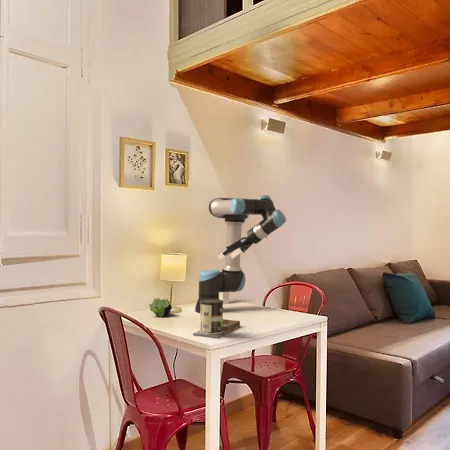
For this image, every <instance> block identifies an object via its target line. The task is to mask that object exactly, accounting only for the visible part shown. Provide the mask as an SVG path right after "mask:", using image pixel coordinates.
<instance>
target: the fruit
mask: <svg viewBox="0 0 450 450" xmlns="http://www.w3.org/2000/svg"><path fill="white" fill-rule="evenodd" d="M148 305H149V311H151V312H152V313H153V314H154V315H156V317H157V316H159V318H162V317H166V316H167V315H169V314H170V313H171V311H172V310H173V306H172V305H171V303H170V301H169V299H168V298H165V299H164V298H163V299H160V298H159V297H158V298H157V297H156V298H155V297H154V299H153V301H152V302H151V303H150V304H148Z"/></svg>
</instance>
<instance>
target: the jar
mask: <svg viewBox="0 0 450 450" xmlns="http://www.w3.org/2000/svg"><path fill="white" fill-rule="evenodd" d="M219 300H222V301H223V305H226V304H227V303H228V304H229V302H230V292H219Z"/></svg>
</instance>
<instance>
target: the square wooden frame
mask: <svg viewBox="0 0 450 450" xmlns="http://www.w3.org/2000/svg"><path fill="white" fill-rule="evenodd" d="M240 325H241V321H240V320H233V319H225V318H224V319H223V329H222V330H225V331H229V332H231V331H233V330H235V329H237V328H239V327H240Z"/></svg>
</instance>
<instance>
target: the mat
mask: <svg viewBox="0 0 450 450" xmlns="http://www.w3.org/2000/svg"><path fill="white" fill-rule="evenodd" d="M222 331H223V332H222V333H221V334H215V335H208V334H202V333H200V330H197V331H195V332H193V333H192V336H196V337H204V338H210V339H220V338H221V336H222V337H223V335H224V336H225V334H226V335H227V334H229V333H230V331H225V330H222Z"/></svg>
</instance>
